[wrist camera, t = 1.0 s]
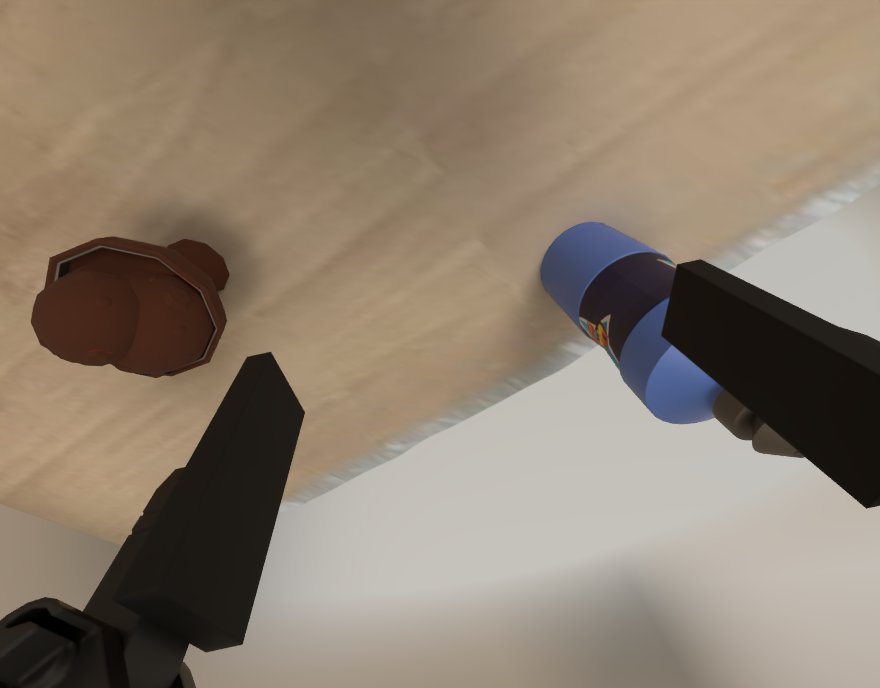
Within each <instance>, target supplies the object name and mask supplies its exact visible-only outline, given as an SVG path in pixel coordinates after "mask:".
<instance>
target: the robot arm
mask: <svg viewBox="0 0 880 688" xmlns="http://www.w3.org/2000/svg"><path fill="white" fill-rule="evenodd" d="M661 336H662V337H663V338H664V339H665V340H667V341H668V342H669V343H670V344H671V345H673V346H674V347H675V348H676V349H677V350H679V351H680V352H681V353H682V354H683V355H684V356H686V357H687V358H688V359H689V360H690V361H692V362H693V363H694V364H695V365H696V366H698V367H699V368H700V369H701V370H702V371H704V372H705V373H706V374H707V375H708V376H709V377H711V378H712V379H713V380H714V381H715V382H717V383H718V384H719V385H720V386H721V387H723V388H724V389H725V390H726V391H727V392H728V393H730V394H731V395H732V396H733V397H734V398H736V399H737V400H738V401H739V402H740V403H742V404H743V405H744V406H745V407H746V408H748V409H749V410H750V411H751V412H752V413H753V414H755V415H756V416H757V417H758V418H759V419H761V420H762V421H763V422H764V423H765V424H767V425H768V426H769V427H770V428H771V429H772V430H774V431H775V432H776V433H777V434H778V435H780V436H781V437H782V438H783V439H784V440H786V441H787V442H788V443H789V444H790V445H792V446H793V447H794V448H795V449H796V450H797V451H799V452H800V453H801V454H802V455H803V456H805V457H806V458H807V459H808V460H810V461H811V462H812V463H813V464H814V465H815V466H816V467H818V468H819V469H820V470H821V471H822V472H824V473H825V474H826V475H827V476H828V477H830V478H831V479H832V480H833V481H834V482H836V483H837V484H838V485H839V486H840V487H842V488H843V489H844V490H845V491H846V492H847V493H849V494H850V495H851V496H852V497H853V498H855V499H856V500H857V501H858V502H859V503H860V504H862V505H863V506H864V507H865V508H871V507H876V506H880V342H879V341H878V340H875V339H873V338H871V337H869V336H867V335H864V334H861V333H858V332H854V331H851V330H848V329H844V328H841V327H838V326H836V325H834V324H831V323H829V322H827V321H825V320H823V319H821V318H819V317H817V316H815V315H813V314H811V313H809V312H807V311H805V310H803V309H801V308H799V307H797V306H795V305H793V304H791V303H789V302H787V301H784V300H783V299H780V298H778V297H776V296H774V295H772V294H770V293H768V292H766V291H764V290H762V289H760V288H758V287H756V286H754V285H752V284H750V283H748V282H746V281H744V280H742V279H740V278H738V277H735V276H733V275H732V274H729V273H727V272H725V271H723V270H721V269H719V268H717V267H715V266H713V265H711V264H709V263H707V262H705V261H703V260H701V259H700V260H695V261H691V262H686V263H682V264H677V267H676V272H675V276H674V280H673V285H672V289H671V294H670V298H669V302H668V307H667V311H666V316H665V320H664V324H663V329H662V333H661ZM304 414H305V412H304V410H303V408H302V406H301V405H300V403H299V401H298V399H297V397H296V396H295V394H294V392H293V390H292V389H291V387H290V385H289V383H288V381H287V380H286V378H285V376H284V374H283V373H282V371H281V369H280V367H279V365H278V364H277V362H276V360H275V358H274V356H273V355H272V353H271V352H268V353H263V354H258V355H254V356H249V357H247V358H246V360H245V362H244V363H243V365H242V367H241V369H240V370H239V372H238V374H237V376H236V378H235V379H234V381H233V383H232V385H231V387H230V388H229V390H228V392H227V394H226V396H225V397H224V399H223V401H222V403H221V404H220V406H219V408H218V410H217V412H216V413H215V415H214V417H213V419H212V421H211V422H210V424H209V426H208V428H207V430H206V431H205V433H204V435H203V437H202V438H201V440H200V442H199V444H198V446H197V447H196V449H195V451H194V453H193V455H192V456H191V458H190V460H189V462H188V463H187V465H186V467H184V468H179V469H175V470H174V472H173V473H172V474H171V475H170V476H169V477H168V478H167V479H166V480H165V481H164V482H163V483H162V484H161V485H160V486H159V487H158V488H157V489H156V491H155V493H154V494H153V496H152V498H151V499H150V501H149V503H148V504H147V506H146V508H145V509H144V511H143V513H144V514H143V516H140V517H139V519H138V521H137V522H136V524H135V526H134V527H133V529H132V534H131V535H129V536H128V537H127V539H126V541H125V542H124V544H123V546H122V547H121V549H120V551H119V552H118V554H117V556H116V557H115V559H114V561H113V563H112V564H111V566H110V567H109V569H108V571H107V572H106V574H105V576H104V577H103V579H102V581H101V582H100V584H99V586H98V587H97V589H96V591H95V592H94V594H93V596H92V597H91V599H90V601H89V602H88V604H87V605H86V607H85V609H84V610H83V612H82V611H80V610H78V609H76V608H74V607H72V606H70V605H68V604H66V603H64V602H62V601H60V600H58V599H53V598H47V597H44V598H41V599H38V600H35V601H32V602H29V603H26V604H25V605H23V606H21V607H20V608H18V609H16V610H15V611H13V612H11V613H10V614H8V615H6V616H5V617H4V618H3V619H2V620H0V688H196V687H195V683H194V680H193V677H192V674H191V671H190V669H189V668H188V666H187V665H186V664H185V662H183V659H184V656H185V654H186V651H187V648H188V645H189V643H190V644H192V645H193V646H195V647H197V648H199V649H201V650H203V651H204V652H210V651H215V650H219V649H223V648H228V647H233V646H237V645H242V644H243V641H244V637H245V633H246V630H247V626H248V622H249V618H250V615H251V611H252V607H253V604H254V600H255V596H256V592H257V589H258V585H259V581H260V577H261V574H262V570H263V566H264V563H265V559H266V555H267V551H268V548H269V544H270V540H271V537H272V533H273V529H274V526H275V522H276V518H277V514H278V511H279V507H280V503H281V500H282V496H283V492H284V488H285V485H286V481H287V477H288V474H289V470H290V466H291V462H292V459H293V455H294V451H295V448H296V444H297V440H298V436H299V433H300V429H301V425H302V422H303V418H304Z"/></svg>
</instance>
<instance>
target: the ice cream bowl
mask: <svg viewBox="0 0 880 688" xmlns="http://www.w3.org/2000/svg"><path fill="white" fill-rule="evenodd" d="M228 277H229V273H228V270H227V267H226V265H225V262H224V259H223V257H221V256H220V255H219V254H218V253H217V252H215V251H214V250H213V249H212V248H211V247H209V246H208V245H207V244H205V243H201V242H196V241H192V240H187V239H183V240H181V241H178V242H176V243H173V244H171V245H168V247H167V248H165V247H161V246H156V245H152V244H147V243H143V242H138V241H134V240H129V239H124V238H119V237H105V238H97V239H94V240H91V241H89V242H87V243H84V244H82V245H79V246H77V247H75V248H72V249H70V250H67V251H65V252H63V253H60V254H58V255H55V256H53V257H51V258H50V260H49V266H48V271H47V277H46V283H45V288H44V290H42V291H41V292H40V293H39V294H38V295H37V297H36V300H35V303H34V307H33V312H32V318H31V324H32V326H33V328H34V331H35V333H36V335H37V338H38V340H39V342H40V344H41V345H42V346H44V347H46V348H47V349H48V350H50V351H51V352H52V353H53V354H54V355H57V356H58V357H59V358H61V359H64V360H66V361H69V362H73V363H80V364H83V365H88V366H103V365H106V364H111V365H113V366H115V367H116V368H117V369H119V370H121V371H124V372H129V373H135V374H140V375H144V376H149V377H153V378H158V377H161V376H164V375H166V376H174V375H176V374H179V373H182V372H185V371H187V370H190V369H193V368H195V367H198V366H201V365H203V364H206V363H209V362H210V360H211V358H212V356H213V353H214V351H215V349H216V347H217V344H218V342H219V340H220V338H221V336H222V333H223V331H224V328H225V325H226V322H227V319H226V314H225V311H224V308H223V305H222V303H221V300H220V298H219V295H218V293H217V291H220V290H223V289H224V287H225V284H226V282H227V280H228Z"/></svg>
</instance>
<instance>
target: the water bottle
mask: <svg viewBox="0 0 880 688" xmlns="http://www.w3.org/2000/svg"><path fill="white" fill-rule="evenodd" d="M676 267H677V266H676V265H675V264H674V263H673V262H672V261H671V260H670V259H669V258H668V257H666V256H665V255H663V254H661V253H659V252H657V251H655V250H654V249H652V248H650V247H648V246H646V245H644V244H642V243H640V242H638V241H636V240H634V239H632V238H630V237H628V236H626V235H624V234H623V233H621V232H619V231H617V230H615V229H613V228H611V227H609V226H607V225H605V224H601V223H596V222H590V223H583V224H579V225H577V226H574V227H572V228H570V229H568V230H567V231H565V232H564V233H562V234H561V235H560V236H559V237H558V238H557V239H556V240H555V241H554V242H553V243H552V244H551V246H550V247H549V249H548V250H547V252H546V254H545V256H544V259H543V262H542V267H541V280H542V284H543V286H544V288H545V290H546V292H547V293H548V294H549V295H550V296H551V297H552V298H553V299H554V300H555V302H556V303H557V304H558V305H559V306H560V307H561V308H562V309H563V311H564V312H565V313H566V314H567V315H568V316H569V317H570V318H571V319H572V321H573V322H574V323H575V324H576V325H577V326H578V327H579V328H580V329H581V330H582V331H583V333H584V334H585V335H586V336H587V337H589V338H590V339H592V340H593V341H595V342H596V343H597V344H599V345H600V346H601V347H603V348H604V349H605V350H606V351H607V353H608V354H609V356H610V357H611V359H612V360H613V362H614V363H615V365H616V366H617V368H618V369H619V371H620V374H621V376H622V378H623V380H624V382H625V383H626V384H627V385H628V387H629V388H630V389H631V390H632V391H633V392H634V393H635V394H636V396H637V397H638V398H639V399H640V400H641V401H642V402H643V404H644V405H645V406H646V407H647V408H648V409H649V410H650V411H651V413H652V414H653V415H654V416H655V417H657V418H659V419H661V420H662V421H665V422H669V423H673V424H689V423H697V422H702V421H706V420H709V419H712V418H716V419H717V420H718V421H719V422H720V423H722V424H723V425H724V426H725V427H726V428H727V429H728V430H729V431H730V432H731V433H732V434H733V435H735V436H736V437H737V438H739V439H742V440H752V446H753V448H754V450H755V451H757V452H759V453H763V454H772V455H780V456H789V457H798V458H803V457H805V456H803V455H802V454H801V453H800V452H799V451H797V450H796V449H795V448H794V447H793V446H792V445H790V444H789V443H788V442H787V441H786V440H784V439H783V438H782V437H781V436H780V435H778V434H777V433H776V432H775V431H774V430H772V429H771V428H770V427H769V426H768V425H767V424H765V423H764V422H763V421H762V420H761V419H759V418H758V417H757V416H756V415H755V414H753V413H752V412H751V411H750V410H749V409H748V408H746V407H745V406H744V405H743V404H742V403H740V402H739V401H738V400H737V399H736V398H734V397H733V396H732V395H731V394H730V393H728V392H727V391H726V390H725V389H724V388H723V387H721V386H720V385H719V384H718V383H717V382H715V381H714V380H713V379H712V378H711V377H709V376H708V375H707V374H706V373H705V372H704V371H702V370H701V369H700V368H699V367H698V366H696V365H695V364H694V363H693V362H692V361H690V360H689V359H688V358H687V357H686V356H684V355H683V354H682V353H681V352H680V351H679V350H677V349H676V348H675V347H674V346H673V345H671V344H670V343H669V342H668V341H667V340H665V339H664V338H663V337H662V336H661V333H662V329H663V324H664V320H665V316H666V311H667V307H668V302H669V298H670V294H671V289H672V285H673V280H674V276H675V272H676Z"/></svg>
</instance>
